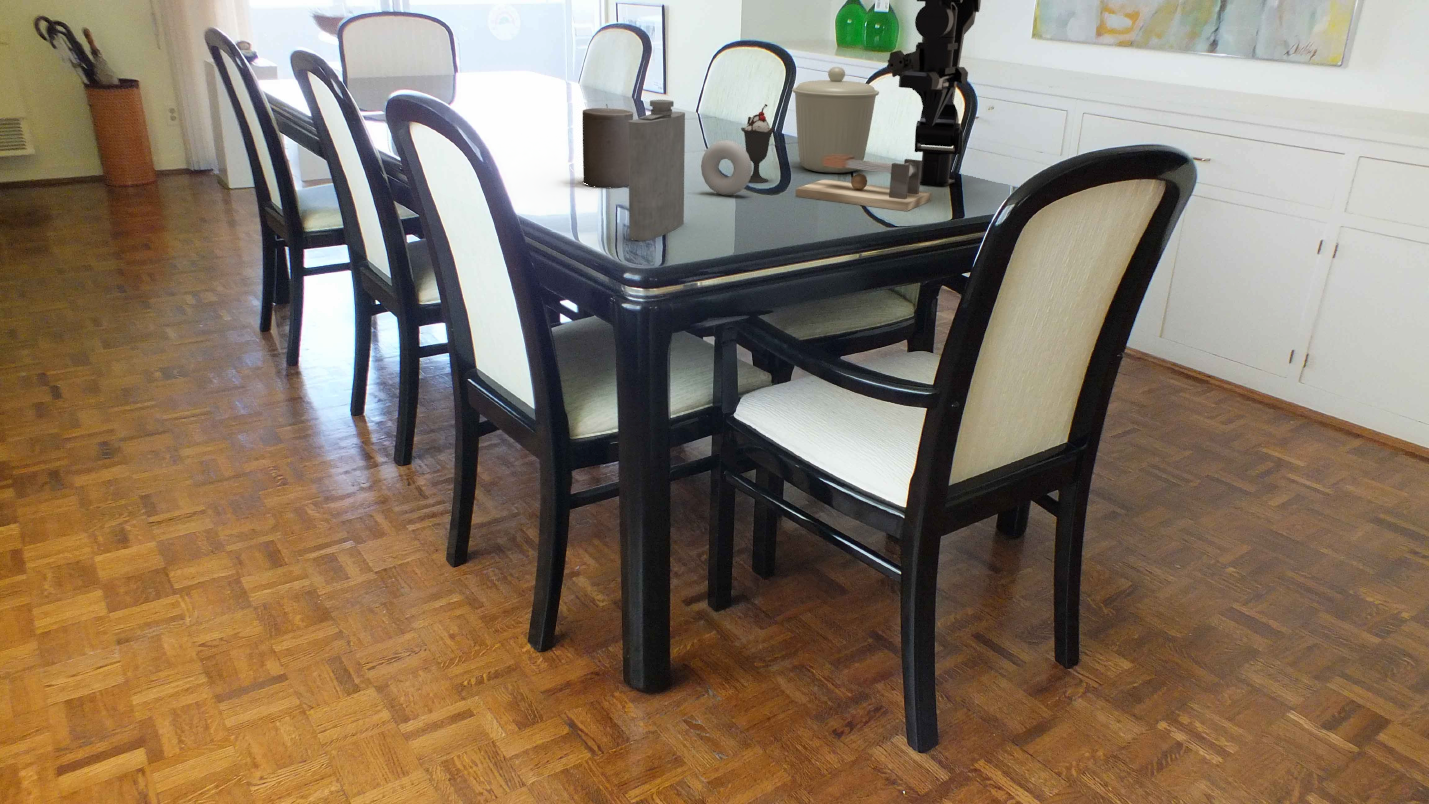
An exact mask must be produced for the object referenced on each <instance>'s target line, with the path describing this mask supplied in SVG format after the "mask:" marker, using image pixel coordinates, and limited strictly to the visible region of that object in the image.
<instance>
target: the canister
mask: <svg viewBox="0 0 1429 804" xmlns="http://www.w3.org/2000/svg"><path fill="white" fill-rule="evenodd" d="M827 75H828V80H827V79H824V80H822V79H819V80H818V79H817V80H809V81H808V80H807V81H803V82H801V83H799V84H798V85H797V86H796V87H793V88H792V89H791V91H792V92H793V94H794V96H795V97H794V99H795V100H794V101H795V117H796V136H797V148H798V149H797V150H798V151H797V152H798V158H799V163H800V164H801V165H802V167H803V168H804V169H806V170H808V171H812V172H818V173H827V174H845V173H852V172H855V171H857V170H858V169H855V168H848V167H844V168H838V167H830V166H822V165H823V157H824V156H828V155H831V154H842V155H850V156H854V159H855V160H863V161H865V160H864V159H865V155H866V150H867V145H868V143H869V142H868V141H869V137H870V131H871V127H872V126H871V125H872V119H873V115H874V109H875V108H874V107H875V103H876V98H877V96H878V95H880V91H879V90H877V89H875V87H874V86H873V85H872V84H870V83H866V82H865V83H864V82H860V81H853V80H844V79H845V77H846V71H845V69H844V68H843V67H842V66H841V67H840V66H832V67H831V68H829V70H828V72H827Z"/></svg>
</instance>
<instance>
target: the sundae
mask: <svg viewBox="0 0 1429 804" xmlns="http://www.w3.org/2000/svg"><path fill="white" fill-rule="evenodd" d="M767 107H768V104H767V103H765V104H764V106H763V107H762V108H761V111H759V112H758V114H757V113H756V114H755V115H752V117H751V116H748V117H747V122H746V125H745V127H741V128H740V129H741V131H742V132H743V134H744V141H745V142H744V143H745V151H746V152H747V153H748V155H749V158H750V160H751V163H753V169H752V173H751V178H750V180H749V182H748V183H753V184H759V183H760V184H762V183H767V182H769V180H768V179H767V178H765V177H763V176H761V174H760V164H761V163H762V162H763V161H764V160H765V159H766V158H767V155H768V151H769V146H770V141H771V137H772V134H773V133H774V132H775V131H776V128H772V127H770V124H769V122H768V121H767V119H766V116H765V112H764V110H765V109H766V108H767Z"/></svg>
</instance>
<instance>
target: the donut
mask: <svg viewBox="0 0 1429 804" xmlns="http://www.w3.org/2000/svg"><path fill="white" fill-rule="evenodd" d="M723 160H729V161H730V163H731V164H732V166H733V172H732V173H731V175H730V176H725V175H723V174H722V173H721V170H720V163H721V162H722V161H723ZM752 168H753V167H752V161H751V160H750V158H749V155H748V153H747V152H746V148H744V147H743V146H742V145H740V143H737V142H736V141H732V140H729V139H726V140H718V141H716V142H714V143H711V145H710V146H709V147H708V148H707V149H706V150H705V151H704V153H703V156H702V158H701V164H700V169H701V176H702V178H703V180H704V183H705V184H706V185H707V187H709V189H711V191H713V192H715V193H716V194H720V195H723V196H734V195H735V194H737V193H740V192H742V191H743V190H744V188H745V187H747V186H748V184H749V183H750V182H749V180H750V178H751V175H752V173H753V169H752Z"/></svg>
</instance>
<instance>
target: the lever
mask: <svg viewBox="0 0 1429 804" xmlns="http://www.w3.org/2000/svg"><path fill="white" fill-rule="evenodd" d="M906 164H908V165H910V169H909V177H910V176H912V175H914V174H916V172H917V166H916V164H915V163H913V162H909V163H906ZM822 166H830V167H838V168H844V167H848V168H855V169H857V170H863V171H865V170H866V171H873V172H879V173H887V174H891V168H892V163H884V162H879V161H869V160H855V159H854V156H850V155H842V154H831V155H828V156H824V157H823V165H822Z"/></svg>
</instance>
